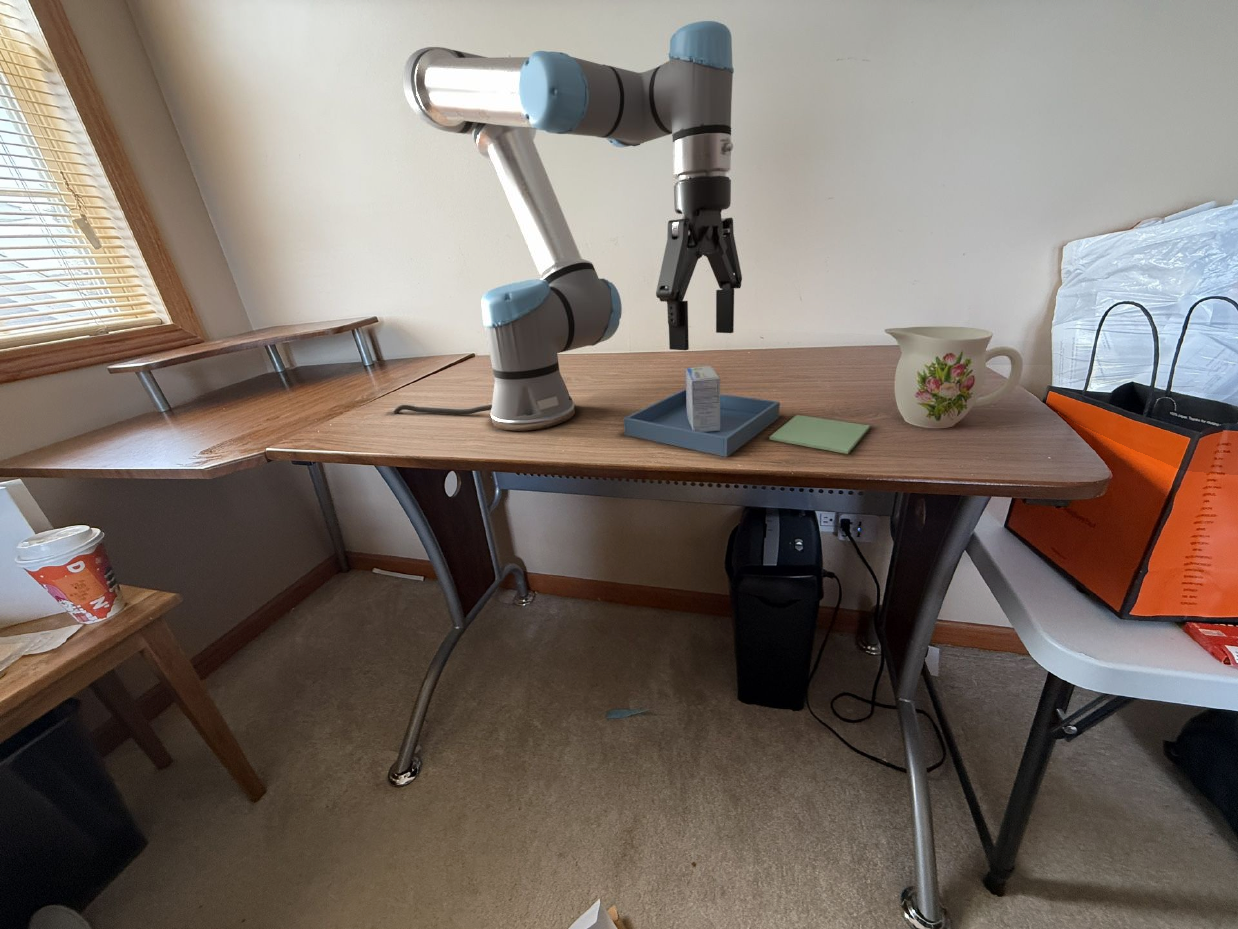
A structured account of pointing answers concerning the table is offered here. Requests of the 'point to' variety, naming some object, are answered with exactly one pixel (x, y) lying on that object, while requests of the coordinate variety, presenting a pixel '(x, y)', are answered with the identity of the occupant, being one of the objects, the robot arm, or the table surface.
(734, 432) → the tray
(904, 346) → the pitcher
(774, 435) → the mat
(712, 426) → the medicine box
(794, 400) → the table surface
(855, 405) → the table surface
